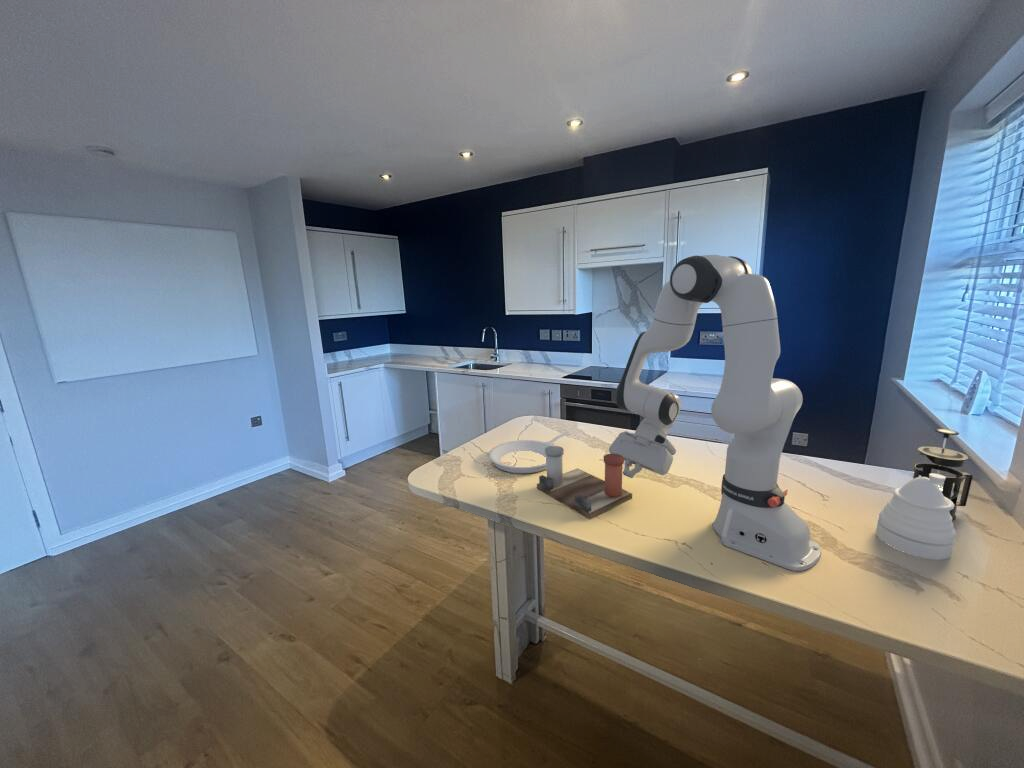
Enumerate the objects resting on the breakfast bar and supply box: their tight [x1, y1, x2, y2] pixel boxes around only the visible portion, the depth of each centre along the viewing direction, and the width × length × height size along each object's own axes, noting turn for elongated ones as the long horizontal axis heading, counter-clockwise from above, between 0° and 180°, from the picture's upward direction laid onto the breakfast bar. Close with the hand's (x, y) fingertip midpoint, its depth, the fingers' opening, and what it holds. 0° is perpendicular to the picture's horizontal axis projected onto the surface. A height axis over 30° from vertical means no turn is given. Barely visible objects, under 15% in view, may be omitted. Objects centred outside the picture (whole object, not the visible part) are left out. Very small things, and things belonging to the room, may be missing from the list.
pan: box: [488, 431, 571, 475], centre depth 153 cm, size 26×39×5 cm
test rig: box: [536, 468, 633, 520], centre depth 124 cm, size 23×18×4 cm
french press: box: [912, 428, 973, 522], centre depth 105 cm, size 12×9×23 cm
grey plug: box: [545, 445, 565, 486], centre depth 126 cm, size 6×6×11 cm
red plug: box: [603, 453, 625, 497], centre depth 119 cm, size 6×6×11 cm
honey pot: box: [875, 472, 957, 560], centre depth 93 cm, size 13×13×18 cm
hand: (627, 476), depth 123 cm, fingers closed
